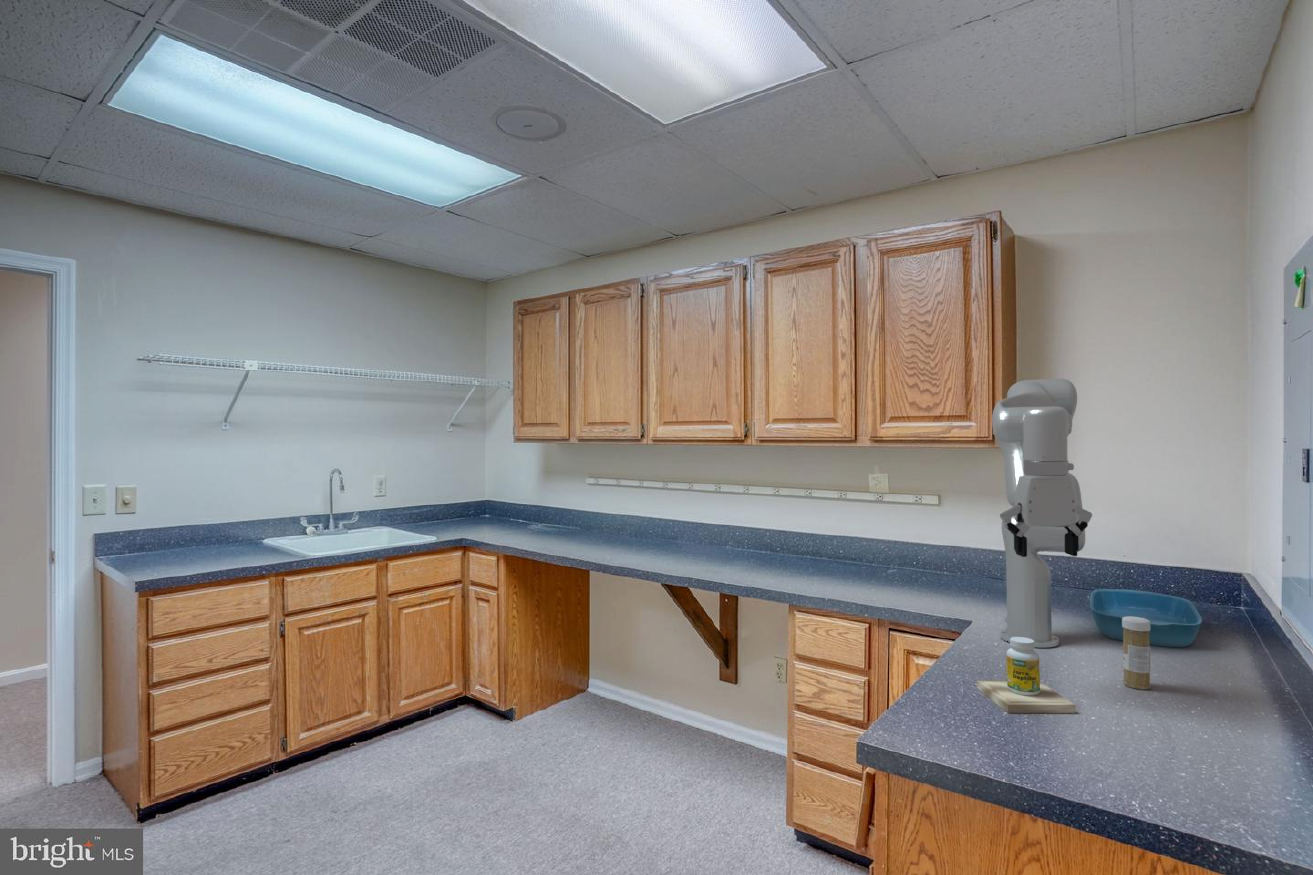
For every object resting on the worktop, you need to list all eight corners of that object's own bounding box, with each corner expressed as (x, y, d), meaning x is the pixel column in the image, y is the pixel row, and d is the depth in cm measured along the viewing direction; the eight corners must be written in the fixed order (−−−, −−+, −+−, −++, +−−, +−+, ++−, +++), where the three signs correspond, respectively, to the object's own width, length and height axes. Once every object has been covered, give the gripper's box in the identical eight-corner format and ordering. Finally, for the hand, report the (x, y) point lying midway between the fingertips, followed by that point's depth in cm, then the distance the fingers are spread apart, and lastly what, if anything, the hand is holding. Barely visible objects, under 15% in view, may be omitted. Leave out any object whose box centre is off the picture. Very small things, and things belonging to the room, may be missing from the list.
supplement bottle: (1037, 687, 125) (1036, 637, 125) (1042, 698, 120) (1041, 645, 120) (1005, 684, 127) (1004, 634, 127) (1009, 694, 122) (1008, 642, 122)
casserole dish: (1209, 658, 146) (1208, 626, 146) (1090, 642, 159) (1089, 613, 159) (1189, 620, 177) (1189, 594, 177) (1090, 609, 189) (1090, 585, 189)
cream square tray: (976, 687, 129) (976, 679, 129) (1038, 687, 129) (1037, 679, 129) (1007, 712, 117) (1007, 703, 117) (1075, 712, 117) (1075, 703, 117)
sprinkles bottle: (1124, 680, 133) (1123, 614, 133) (1152, 685, 130) (1151, 618, 130) (1121, 686, 129) (1120, 618, 130) (1149, 692, 126) (1148, 623, 126)
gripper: (1078, 467, 133) (1079, 550, 133) (991, 469, 133) (992, 552, 134) (1102, 470, 125) (1102, 558, 126) (1010, 472, 126) (1010, 559, 126)
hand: (1046, 555), depth 130 cm, fingers open, 9 cm apart
